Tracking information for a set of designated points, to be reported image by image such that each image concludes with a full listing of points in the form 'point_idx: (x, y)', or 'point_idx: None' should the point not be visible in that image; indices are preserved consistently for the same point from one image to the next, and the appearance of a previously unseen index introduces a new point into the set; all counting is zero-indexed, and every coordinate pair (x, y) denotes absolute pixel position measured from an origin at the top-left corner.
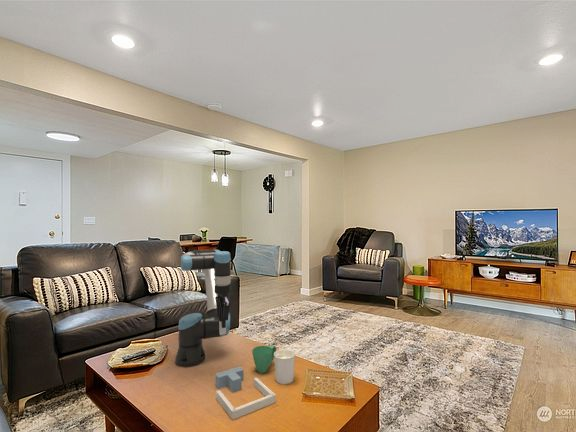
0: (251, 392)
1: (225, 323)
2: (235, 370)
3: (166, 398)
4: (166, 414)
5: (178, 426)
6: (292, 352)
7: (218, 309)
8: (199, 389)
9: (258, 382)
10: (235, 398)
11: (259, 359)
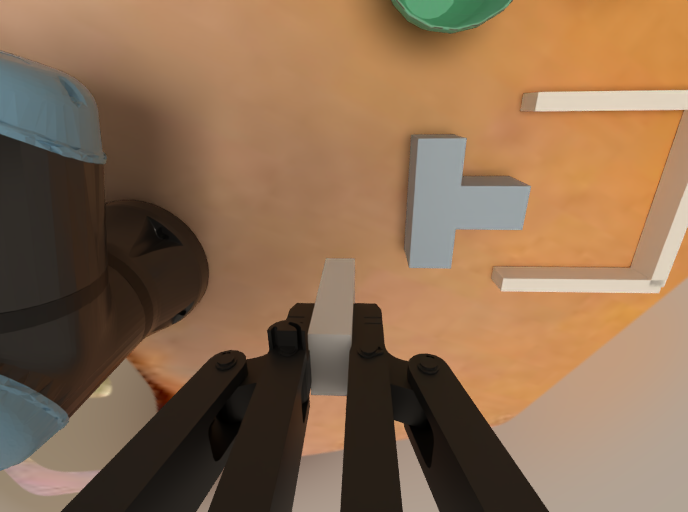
0: (560, 148)
1: (382, 332)
2: (443, 177)
3: None
4: None
5: (534, 397)
6: None
7: (187, 509)
8: (395, 303)
9: (585, 108)
10: (543, 222)
11: (492, 9)
